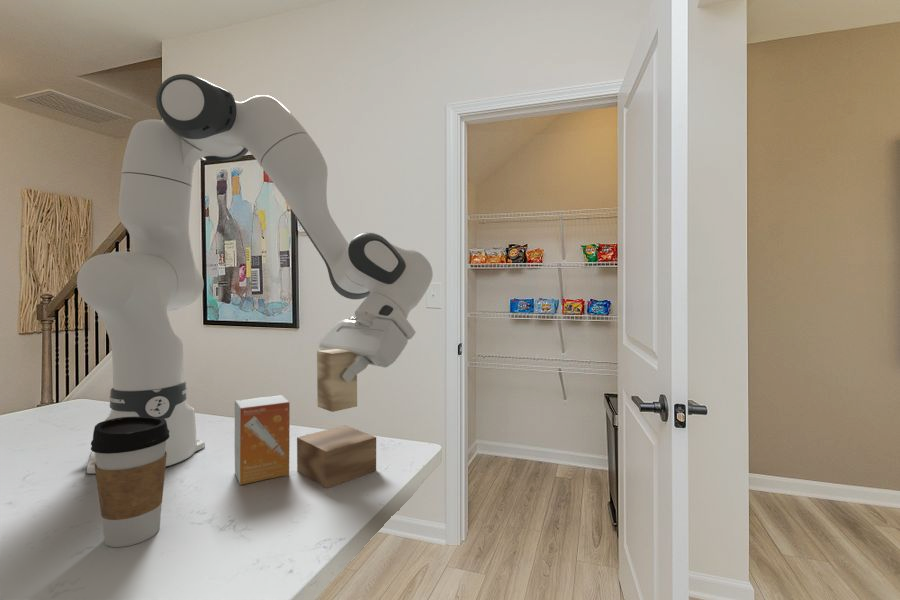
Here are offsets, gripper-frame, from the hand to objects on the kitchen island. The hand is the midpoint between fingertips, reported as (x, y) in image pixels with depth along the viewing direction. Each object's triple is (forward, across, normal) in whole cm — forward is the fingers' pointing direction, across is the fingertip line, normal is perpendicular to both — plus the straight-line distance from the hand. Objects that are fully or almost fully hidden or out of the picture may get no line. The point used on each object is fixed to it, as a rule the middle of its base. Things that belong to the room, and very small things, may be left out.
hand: (333, 377), depth 78 cm
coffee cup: (+33, -1, -9) cm, 34 cm away
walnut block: (+12, 0, +12) cm, 17 cm away
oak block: (+3, 0, +4) cm, 5 cm away
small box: (+19, -8, +5) cm, 21 cm away
